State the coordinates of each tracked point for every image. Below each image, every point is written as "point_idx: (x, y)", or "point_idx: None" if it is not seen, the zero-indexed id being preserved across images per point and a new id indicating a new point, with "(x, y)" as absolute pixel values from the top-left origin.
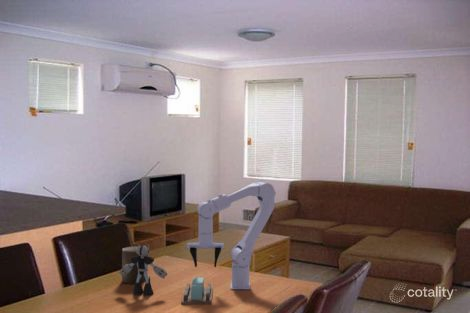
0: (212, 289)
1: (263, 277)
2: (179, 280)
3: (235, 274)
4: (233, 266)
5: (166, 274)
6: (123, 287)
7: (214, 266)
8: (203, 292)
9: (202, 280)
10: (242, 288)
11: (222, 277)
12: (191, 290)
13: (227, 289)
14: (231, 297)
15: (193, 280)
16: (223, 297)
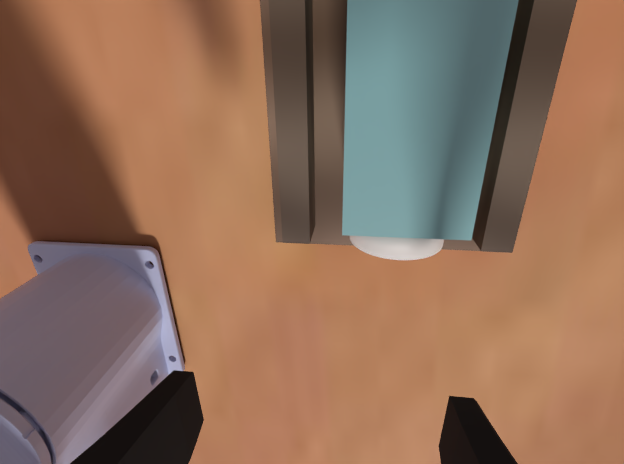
0: (276, 207)
1: None
2: (517, 434)
3: (50, 325)
4: (22, 410)
5: None
6: None
7: (186, 377)
8: None
9: (354, 114)
10: (76, 245)
11: (249, 448)
12: None
13: (182, 253)
14: (112, 63)
15: (484, 114)
16: (174, 61)
